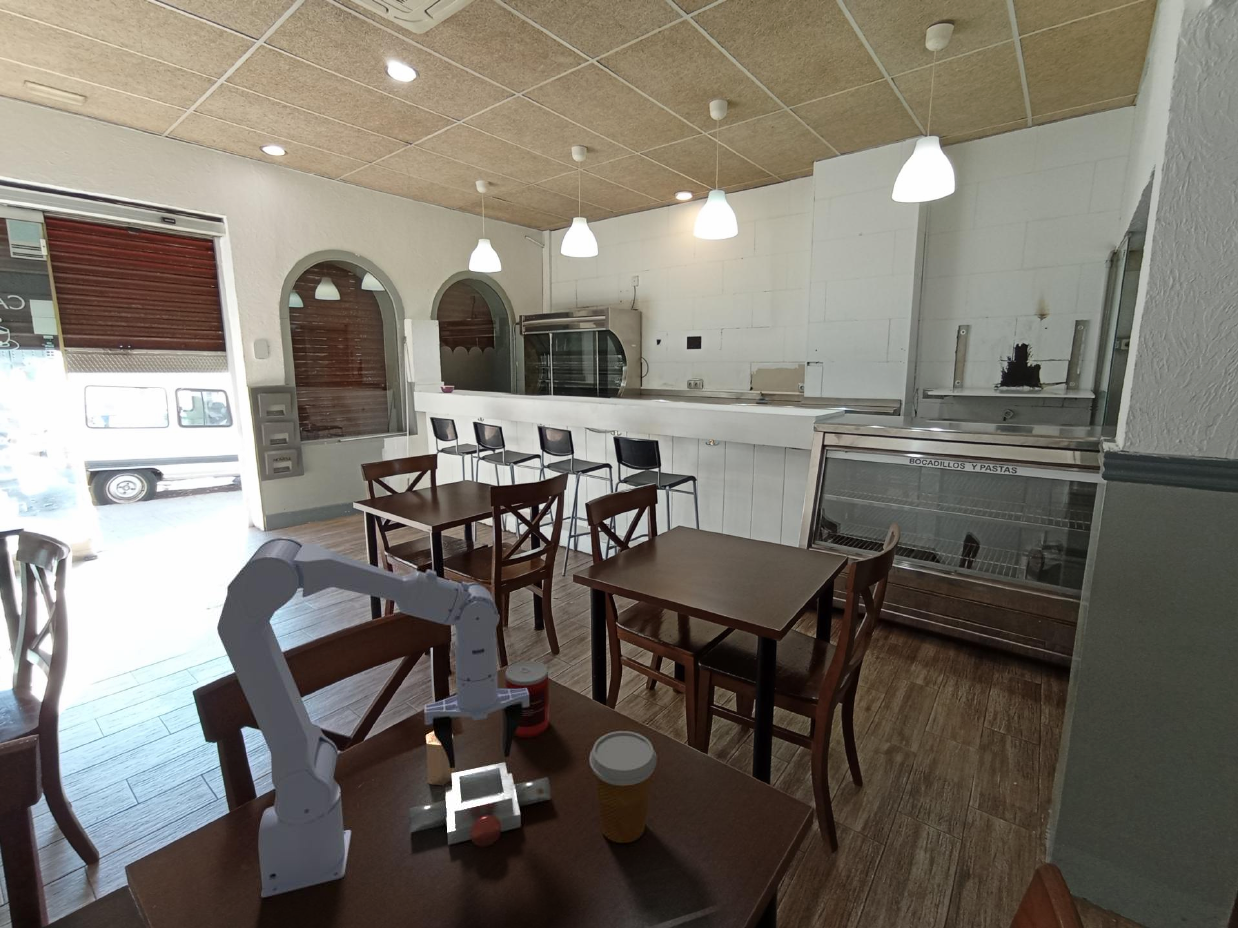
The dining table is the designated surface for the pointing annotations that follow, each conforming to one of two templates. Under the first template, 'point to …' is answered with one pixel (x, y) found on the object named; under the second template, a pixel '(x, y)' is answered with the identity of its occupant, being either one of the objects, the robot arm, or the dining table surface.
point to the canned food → (531, 696)
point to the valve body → (480, 805)
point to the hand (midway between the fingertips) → (479, 757)
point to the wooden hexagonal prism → (437, 761)
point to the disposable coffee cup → (623, 783)
